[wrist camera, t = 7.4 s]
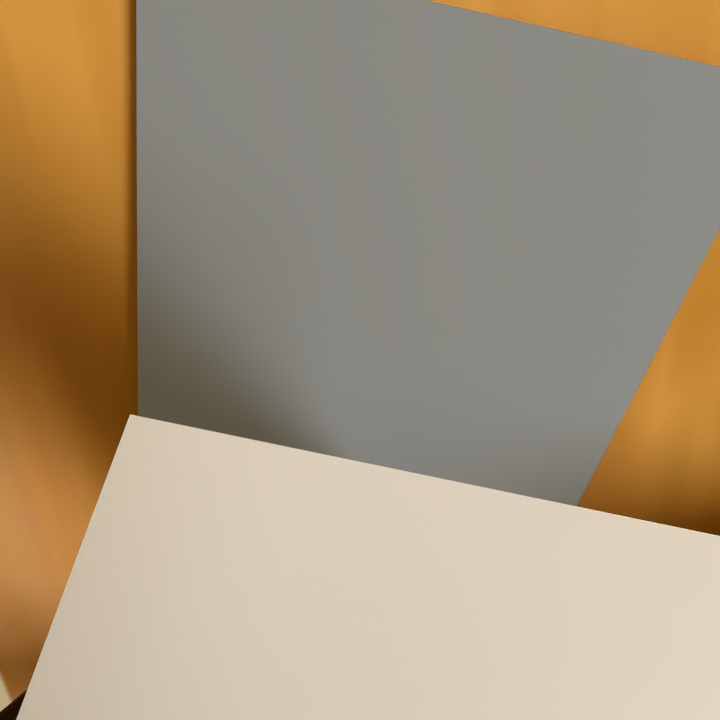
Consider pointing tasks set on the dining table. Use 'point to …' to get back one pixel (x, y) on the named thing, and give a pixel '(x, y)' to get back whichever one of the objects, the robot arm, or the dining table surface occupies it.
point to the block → (367, 597)
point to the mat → (412, 231)
